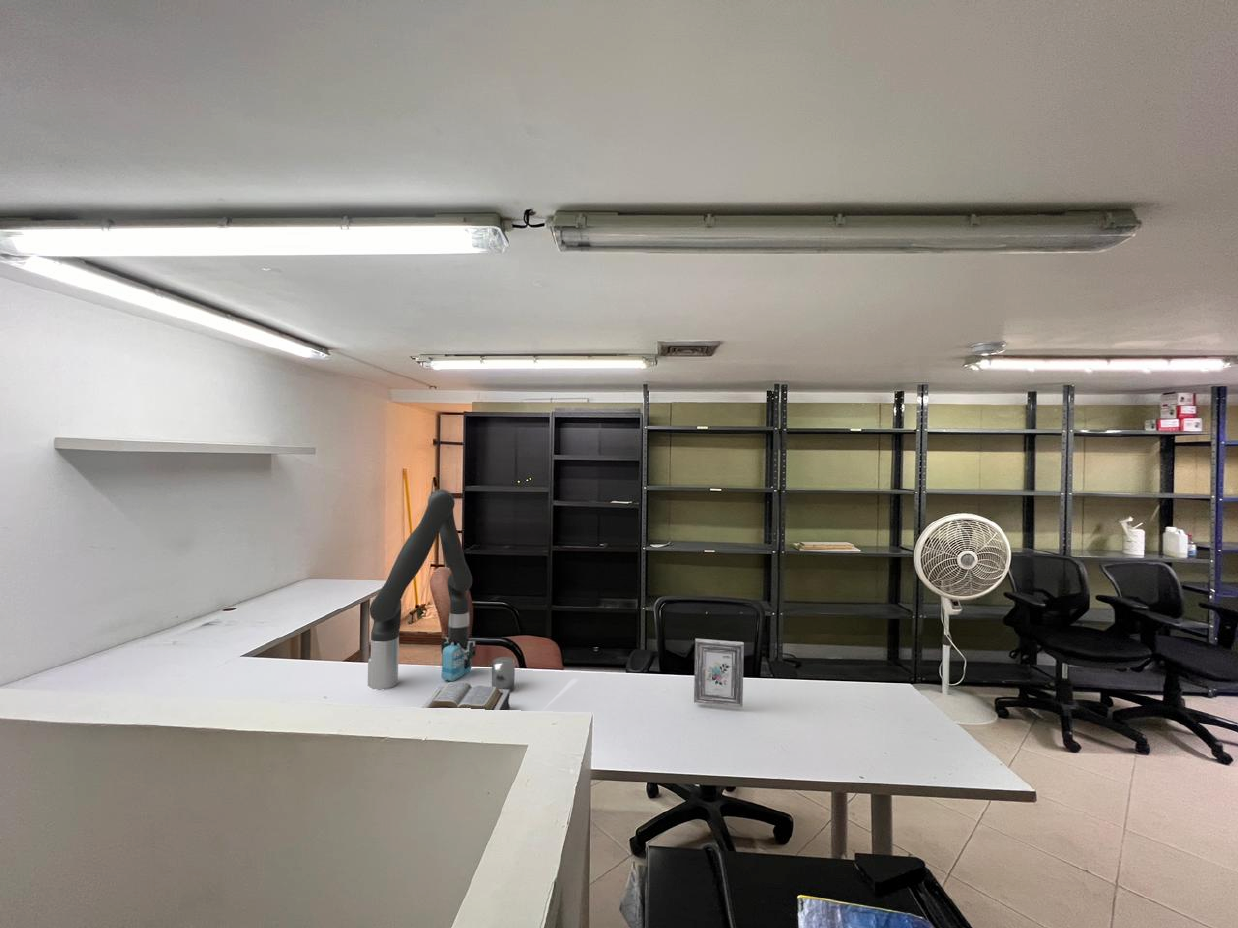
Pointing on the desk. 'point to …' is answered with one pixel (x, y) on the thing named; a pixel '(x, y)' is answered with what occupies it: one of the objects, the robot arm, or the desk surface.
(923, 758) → the desk surface
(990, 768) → the desk surface
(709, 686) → the picture frame
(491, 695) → the bible
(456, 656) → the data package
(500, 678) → the grey domed cylinder
